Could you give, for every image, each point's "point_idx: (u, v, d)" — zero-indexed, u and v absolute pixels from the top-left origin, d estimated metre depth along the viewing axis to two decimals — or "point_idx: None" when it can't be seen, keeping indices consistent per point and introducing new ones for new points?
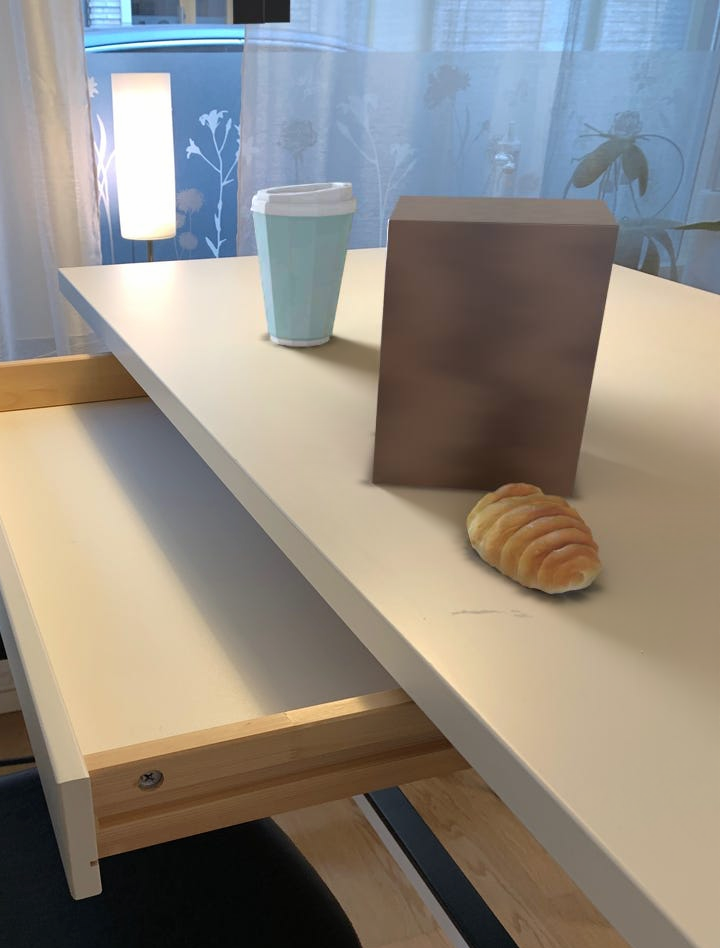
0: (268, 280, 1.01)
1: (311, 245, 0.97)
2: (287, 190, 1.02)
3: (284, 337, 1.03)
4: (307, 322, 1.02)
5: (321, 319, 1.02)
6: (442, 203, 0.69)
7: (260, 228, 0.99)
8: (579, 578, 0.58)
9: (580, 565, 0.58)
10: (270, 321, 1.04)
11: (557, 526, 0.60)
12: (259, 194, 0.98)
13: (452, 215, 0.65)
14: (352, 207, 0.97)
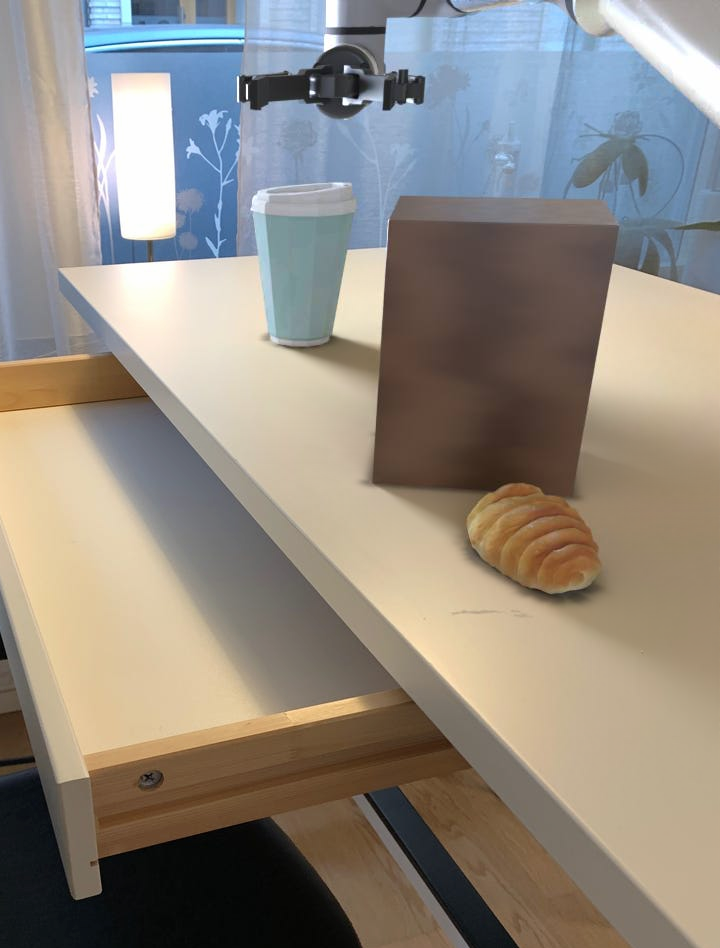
0: (268, 280, 1.01)
1: (311, 245, 0.97)
2: (287, 190, 1.02)
3: (284, 337, 1.03)
4: (307, 322, 1.02)
5: (321, 319, 1.02)
6: (442, 203, 0.69)
7: (260, 228, 0.99)
8: (579, 578, 0.58)
9: (580, 565, 0.58)
10: (270, 321, 1.04)
11: (557, 526, 0.60)
12: (259, 194, 0.98)
13: (452, 215, 0.65)
14: (352, 207, 0.97)
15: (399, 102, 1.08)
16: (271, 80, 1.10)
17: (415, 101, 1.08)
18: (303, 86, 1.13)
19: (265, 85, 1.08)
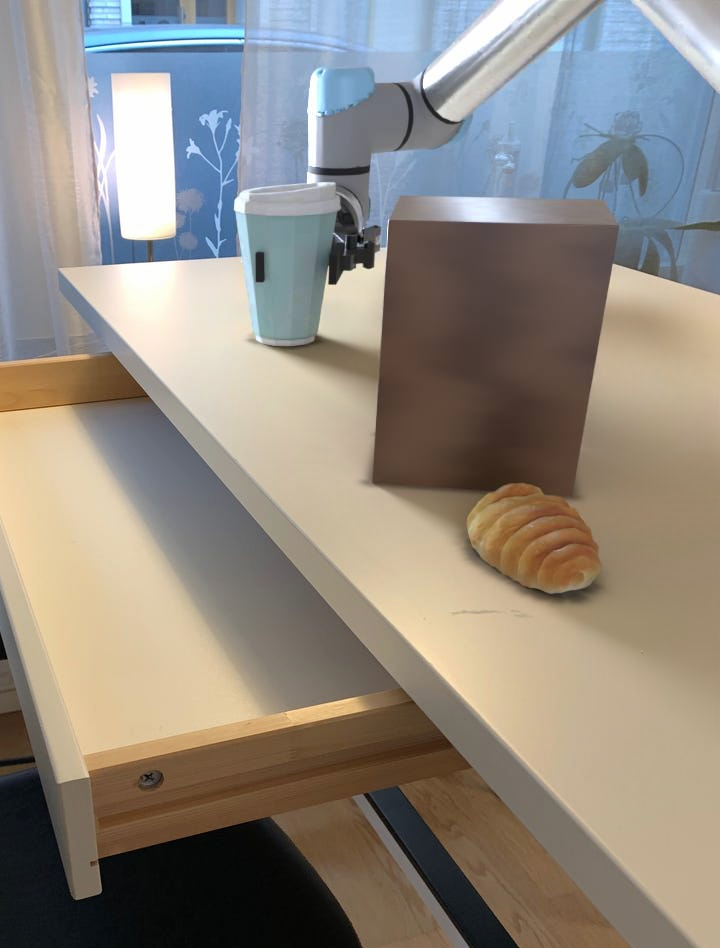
0: (250, 279, 1.01)
1: (291, 244, 0.97)
2: (273, 190, 1.02)
3: (267, 336, 1.03)
4: (289, 321, 1.02)
5: (303, 319, 1.02)
6: (442, 203, 0.69)
7: (242, 227, 0.99)
8: (579, 578, 0.58)
9: (580, 564, 0.58)
10: (254, 320, 1.04)
11: (557, 526, 0.60)
12: (241, 194, 0.98)
13: (452, 215, 0.65)
14: (333, 207, 0.97)
15: None
16: None
17: (363, 265, 1.04)
18: None
19: None
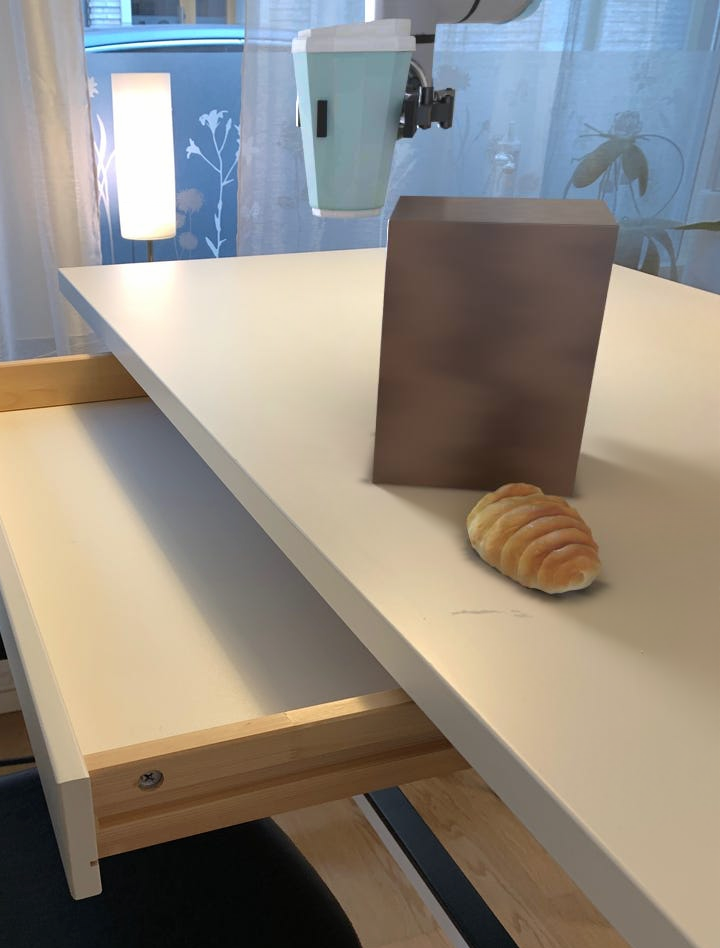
0: (309, 137, 0.87)
1: (360, 89, 0.82)
2: None
3: (327, 207, 0.89)
4: (354, 187, 0.87)
5: (370, 185, 0.87)
6: (442, 203, 0.69)
7: (301, 72, 0.84)
8: (579, 578, 0.58)
9: (580, 564, 0.58)
10: (312, 189, 0.89)
11: (557, 526, 0.60)
12: (300, 31, 0.84)
13: (452, 215, 0.65)
14: (409, 45, 0.82)
15: (420, 126, 0.89)
16: None
17: (440, 125, 0.89)
18: None
19: None
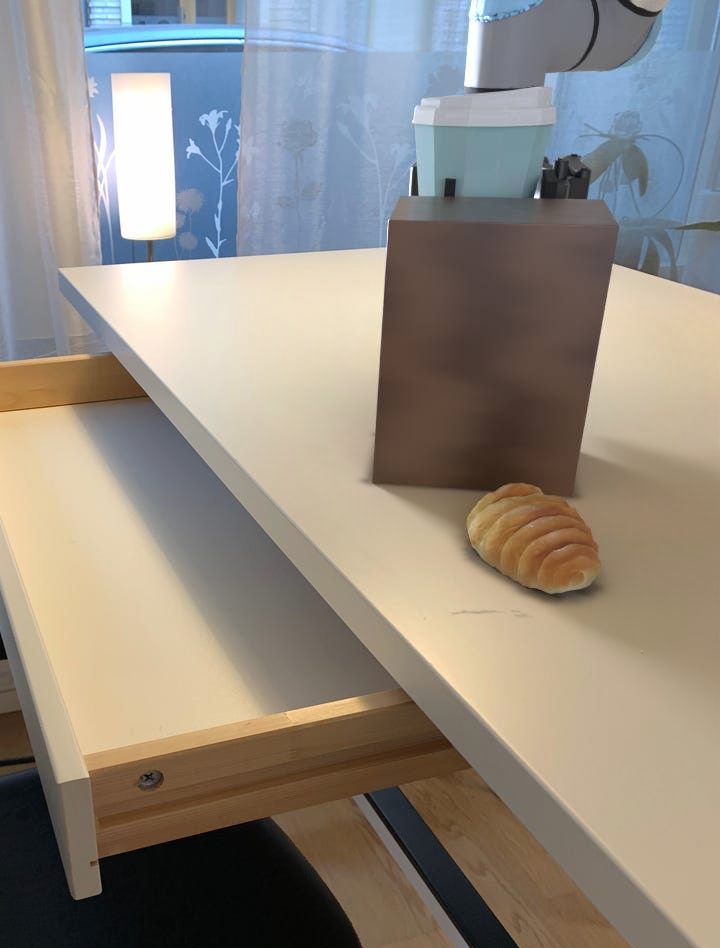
0: None
1: (495, 167, 0.72)
2: None
3: None
4: None
5: None
6: (442, 203, 0.69)
7: (424, 146, 0.74)
8: (579, 578, 0.58)
9: (580, 564, 0.58)
10: None
11: (557, 526, 0.60)
12: (425, 100, 0.73)
13: (452, 215, 0.65)
14: (551, 117, 0.72)
15: None
16: None
17: None
18: None
19: None
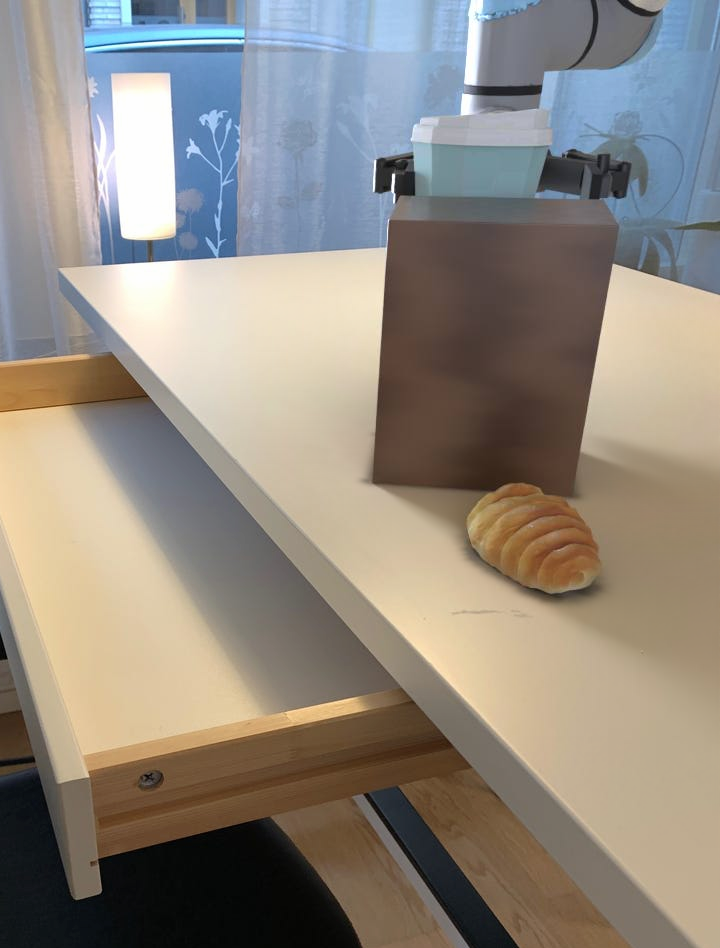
0: None
1: (491, 186, 0.73)
2: None
3: None
4: None
5: None
6: (442, 203, 0.69)
7: (422, 164, 0.75)
8: (579, 578, 0.58)
9: (580, 564, 0.58)
10: None
11: (557, 526, 0.60)
12: (424, 119, 0.74)
13: (452, 215, 0.65)
14: (548, 139, 0.73)
15: None
16: None
17: (616, 195, 0.81)
18: None
19: None
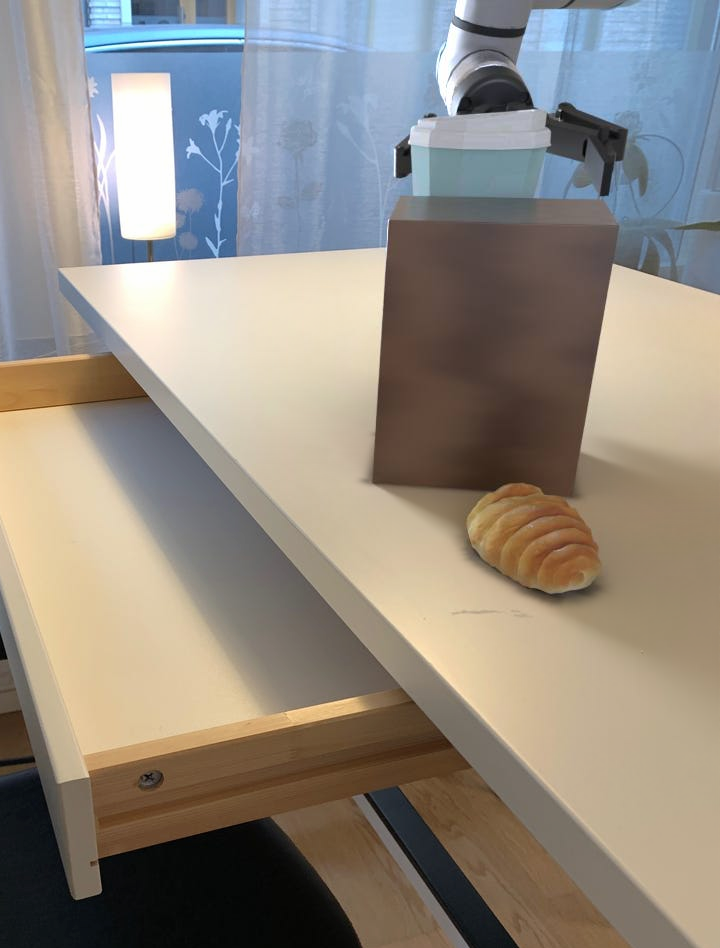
0: None
1: (489, 189, 0.73)
2: None
3: None
4: None
5: None
6: (442, 203, 0.69)
7: (420, 167, 0.75)
8: (579, 578, 0.58)
9: (580, 564, 0.58)
10: None
11: (557, 526, 0.60)
12: (421, 122, 0.74)
13: (452, 215, 0.65)
14: (545, 140, 0.73)
15: None
16: None
17: (615, 159, 0.90)
18: None
19: None
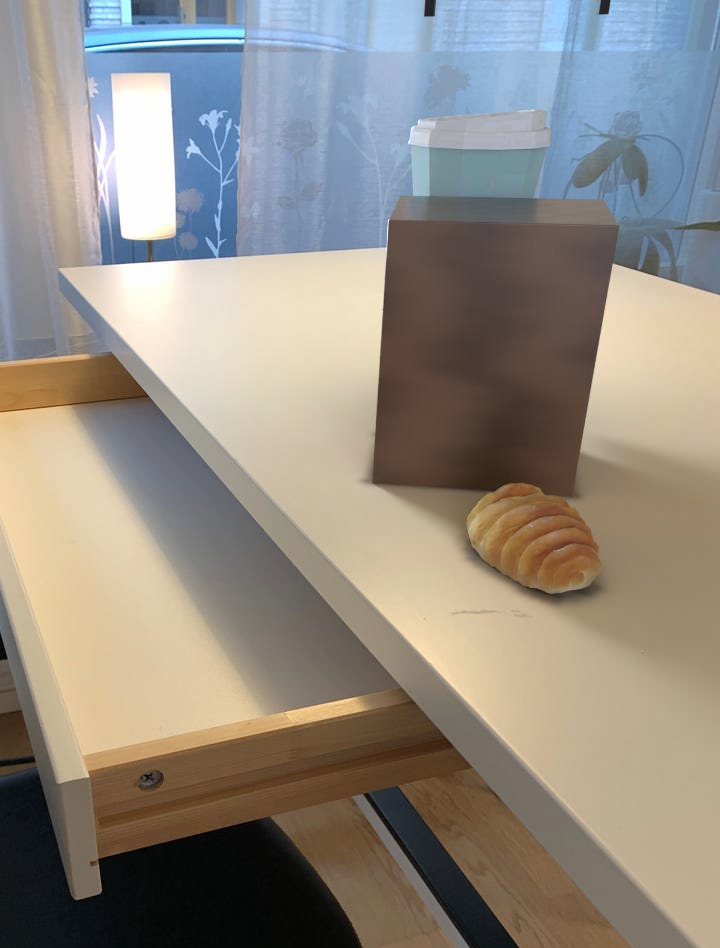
0: None
1: (489, 189, 0.73)
2: None
3: None
4: None
5: None
6: (442, 203, 0.69)
7: (420, 167, 0.75)
8: (579, 578, 0.58)
9: (580, 564, 0.58)
10: None
11: (557, 526, 0.60)
12: (421, 122, 0.74)
13: (452, 215, 0.65)
14: (545, 140, 0.73)
15: None
16: None
17: None
18: None
19: None
